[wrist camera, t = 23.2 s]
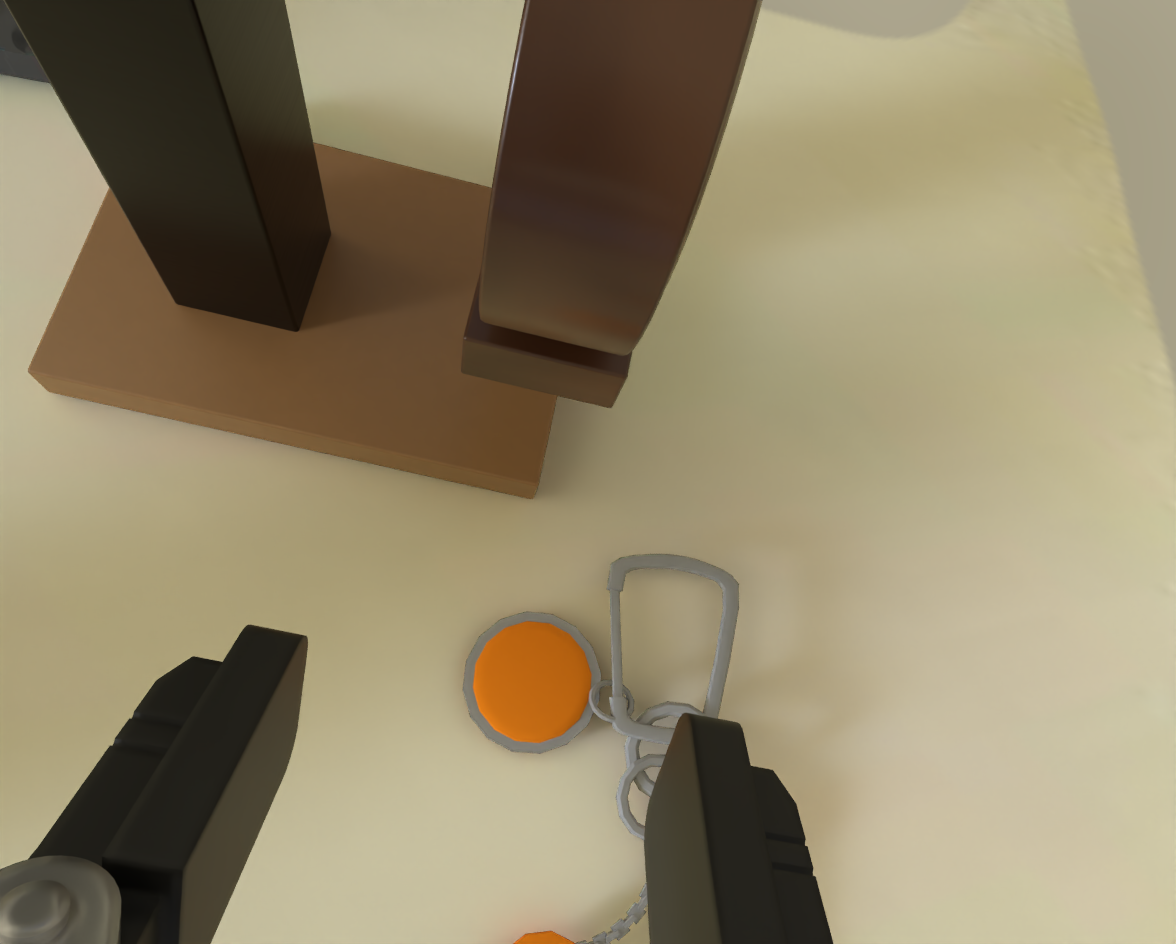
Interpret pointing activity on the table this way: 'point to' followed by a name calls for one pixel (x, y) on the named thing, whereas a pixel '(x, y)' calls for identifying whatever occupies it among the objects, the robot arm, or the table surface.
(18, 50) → the smartphone
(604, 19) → the clock
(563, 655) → the key chain
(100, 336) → the stand
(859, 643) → the table surface
